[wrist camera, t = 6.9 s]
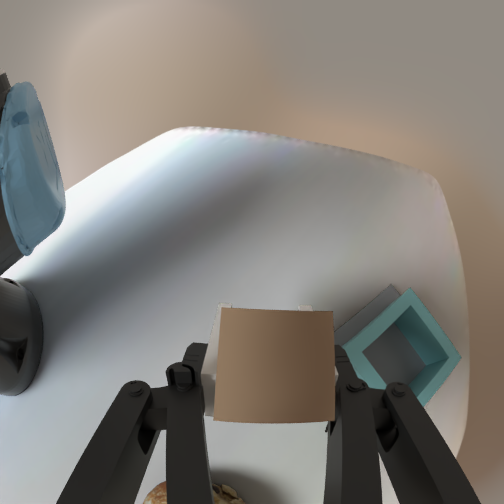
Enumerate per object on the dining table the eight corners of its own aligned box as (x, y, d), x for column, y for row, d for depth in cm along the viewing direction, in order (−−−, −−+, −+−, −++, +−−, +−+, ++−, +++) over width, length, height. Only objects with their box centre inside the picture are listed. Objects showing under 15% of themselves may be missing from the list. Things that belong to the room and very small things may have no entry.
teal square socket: (302, 356, 24) (314, 345, 19) (387, 287, 27) (408, 266, 23) (372, 447, 19) (397, 454, 14) (447, 367, 22) (475, 357, 18)
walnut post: (229, 405, 18) (213, 420, 8) (232, 355, 20) (221, 307, 10) (283, 407, 18) (334, 420, 8) (285, 357, 20) (332, 311, 10)
